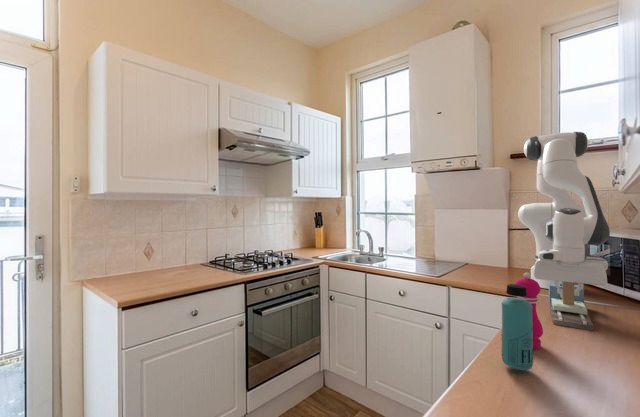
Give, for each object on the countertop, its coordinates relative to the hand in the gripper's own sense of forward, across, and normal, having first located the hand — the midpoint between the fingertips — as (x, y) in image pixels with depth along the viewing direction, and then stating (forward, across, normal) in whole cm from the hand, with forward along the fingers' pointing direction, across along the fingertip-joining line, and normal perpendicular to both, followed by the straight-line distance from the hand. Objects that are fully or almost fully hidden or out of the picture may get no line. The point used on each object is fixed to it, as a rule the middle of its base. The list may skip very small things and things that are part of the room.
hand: (568, 294), depth 111 cm
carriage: (+5, 0, 0) cm, 5 cm away
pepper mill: (+7, +12, +36) cm, 38 cm away
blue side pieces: (+7, 0, -9) cm, 12 cm away
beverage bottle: (+7, +14, +53) cm, 55 cm away
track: (+7, 0, +4) cm, 8 cm away
